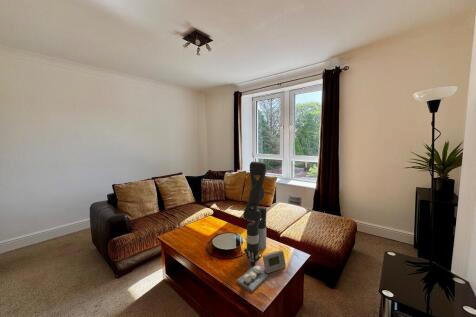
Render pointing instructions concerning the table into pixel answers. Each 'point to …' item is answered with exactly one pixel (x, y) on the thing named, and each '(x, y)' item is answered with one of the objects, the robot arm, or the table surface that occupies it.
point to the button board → (253, 284)
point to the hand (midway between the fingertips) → (252, 266)
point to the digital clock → (274, 261)
